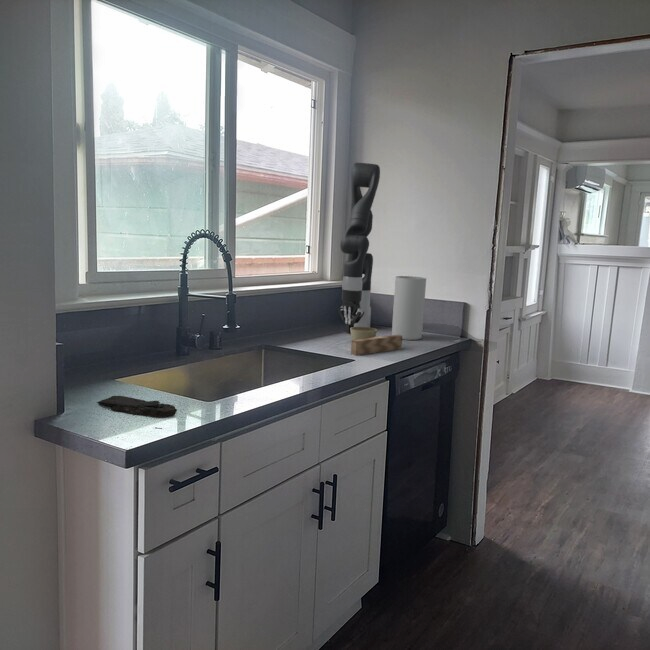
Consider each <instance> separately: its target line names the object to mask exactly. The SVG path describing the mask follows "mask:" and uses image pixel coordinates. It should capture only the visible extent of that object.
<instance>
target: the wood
mask: <svg viewBox="0 0 650 650" xmlns="http://www.w3.org/2000/svg"><path fill="white" fill-rule="evenodd" d="M96 403H97V404H99V405H101V406H102V407H107V408H111V411H113V412H116V413H123V414H127V415H133V416H145V417H151V418H156V419H165V418H170V417H173V416H175V415H176V413H177V412H178V410H177V408H176V406H175V405H173V404H168V403H163V402H162V403H161V402H160V401H159V400H149V401H148V400H144V399H140V398H139V399H138V398H135V397H129V396H124V395H112V396H110V397H107V398H105V399H101V400H99V401H97V402H96Z"/></svg>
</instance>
